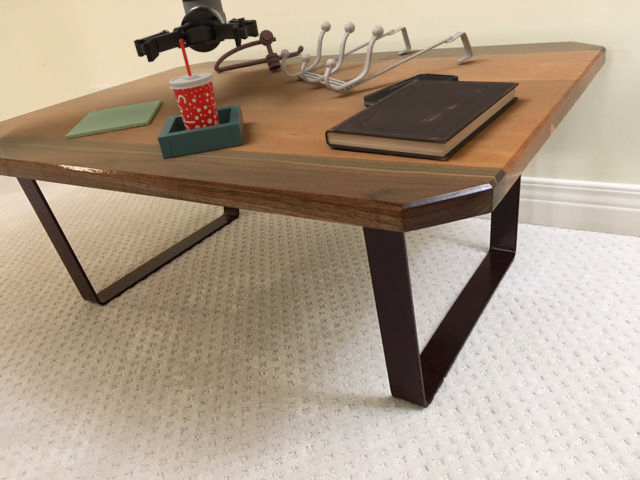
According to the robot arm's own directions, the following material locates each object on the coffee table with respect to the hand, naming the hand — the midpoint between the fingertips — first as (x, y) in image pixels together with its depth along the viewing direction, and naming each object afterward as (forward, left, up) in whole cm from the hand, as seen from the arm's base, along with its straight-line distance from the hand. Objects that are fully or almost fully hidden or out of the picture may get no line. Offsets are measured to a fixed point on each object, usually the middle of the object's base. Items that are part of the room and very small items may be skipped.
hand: (192, 45), depth 82 cm
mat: (-18, +13, -12) cm, 25 cm away
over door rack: (+30, +15, -12) cm, 36 cm away
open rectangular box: (0, -10, -12) cm, 16 cm away
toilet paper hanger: (+10, +39, -12) cm, 42 cm away
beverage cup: (0, -10, -12) cm, 16 cm away
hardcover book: (+30, -20, -12) cm, 38 cm away
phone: (+32, -5, -12) cm, 34 cm away
